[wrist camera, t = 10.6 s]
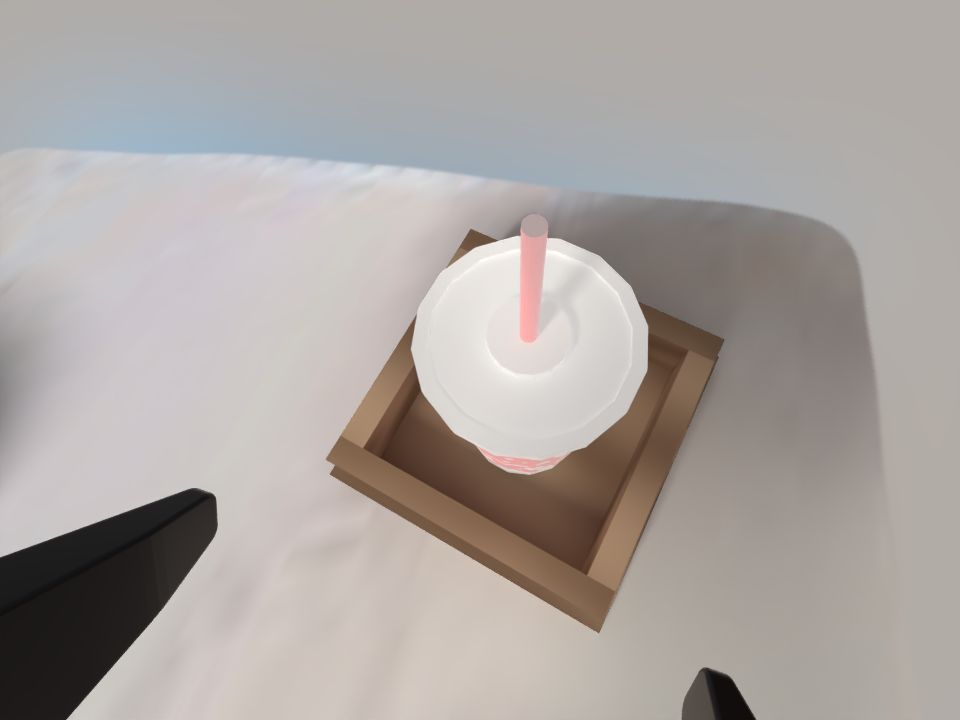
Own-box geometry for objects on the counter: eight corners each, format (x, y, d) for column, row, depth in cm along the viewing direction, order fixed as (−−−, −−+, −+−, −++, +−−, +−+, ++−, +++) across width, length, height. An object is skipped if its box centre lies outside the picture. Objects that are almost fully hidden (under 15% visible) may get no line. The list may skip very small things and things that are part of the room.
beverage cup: (427, 389, 23) (304, 171, 10) (552, 327, 23) (597, 40, 10) (492, 522, 21) (451, 473, 8) (627, 449, 21) (802, 290, 8)
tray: (595, 629, 20) (610, 644, 17) (337, 477, 23) (306, 465, 20) (710, 364, 23) (742, 334, 20) (472, 257, 26) (466, 215, 23)
